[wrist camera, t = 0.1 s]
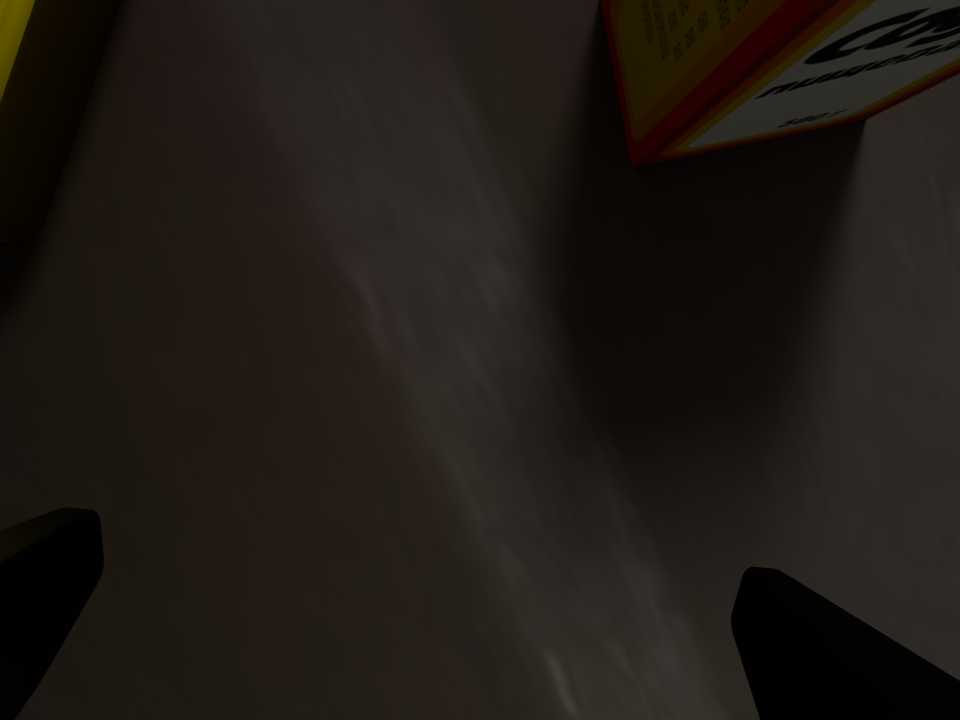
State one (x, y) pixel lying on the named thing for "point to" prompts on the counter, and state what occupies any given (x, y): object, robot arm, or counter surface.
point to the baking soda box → (768, 66)
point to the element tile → (43, 97)
